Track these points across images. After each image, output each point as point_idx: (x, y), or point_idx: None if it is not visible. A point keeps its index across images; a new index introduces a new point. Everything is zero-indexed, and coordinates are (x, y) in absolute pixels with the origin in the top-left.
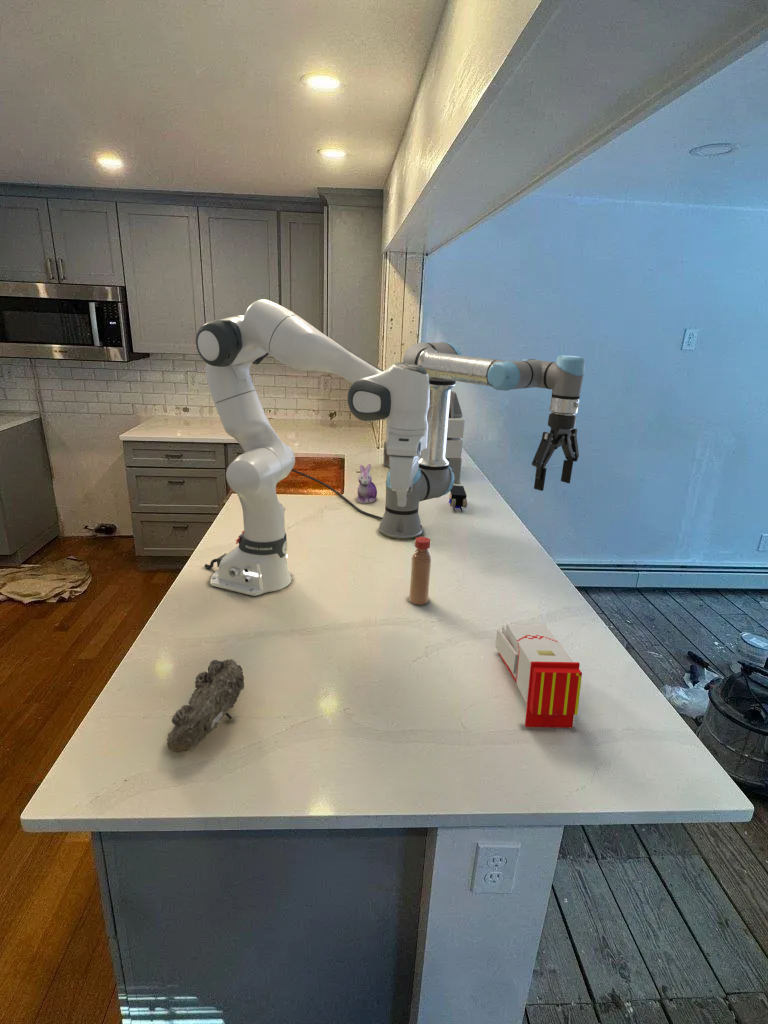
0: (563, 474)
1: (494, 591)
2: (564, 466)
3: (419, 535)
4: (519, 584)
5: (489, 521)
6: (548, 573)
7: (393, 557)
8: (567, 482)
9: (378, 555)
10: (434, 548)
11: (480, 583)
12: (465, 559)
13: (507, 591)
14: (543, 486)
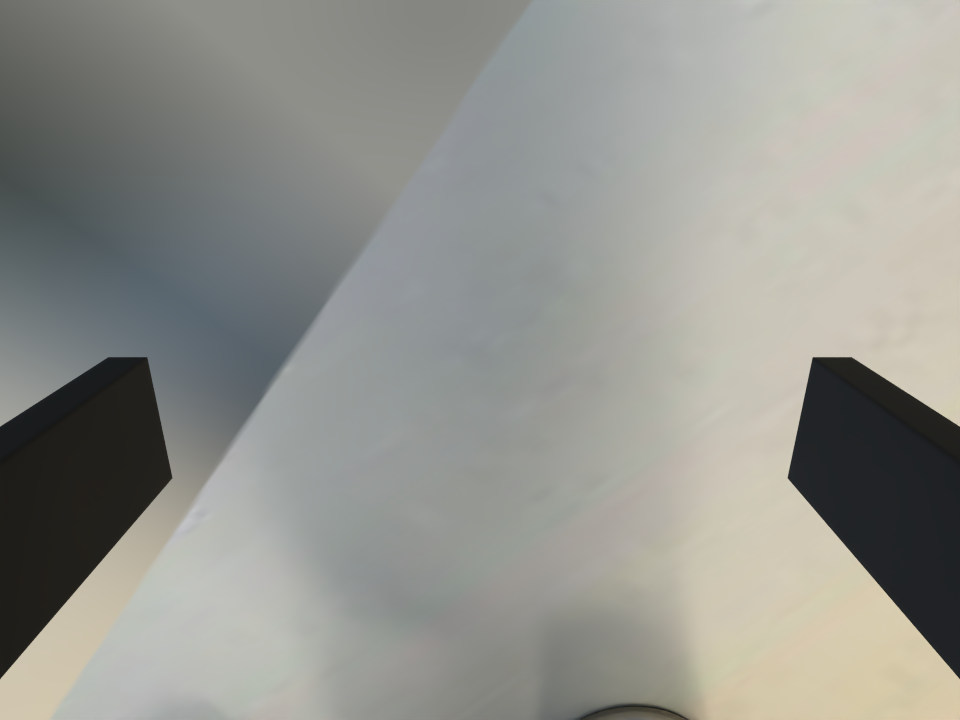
0: (105, 518)
1: (822, 220)
2: (6, 631)
3: (608, 714)
4: (671, 194)
5: (214, 673)
6: (449, 181)
7: (838, 641)
8: (145, 379)
9: (863, 677)
10: (646, 617)
11: (795, 308)
12: (636, 490)
13: (779, 183)
14: (861, 383)
